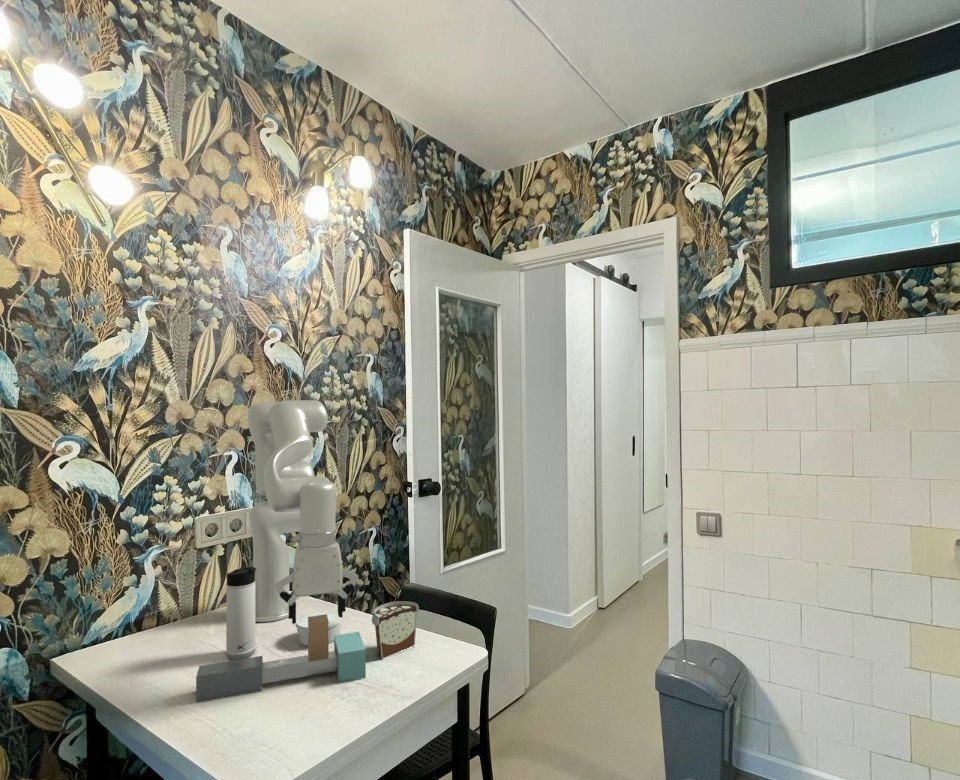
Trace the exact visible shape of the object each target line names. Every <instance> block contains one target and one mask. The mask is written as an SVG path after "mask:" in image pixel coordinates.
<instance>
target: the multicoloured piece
mask: <svg viewBox="0 0 960 780" xmlns="http://www.w3.org/2000/svg"><path fill="white" fill-rule="evenodd" d="M336 671H338V668H337V651H334V650H333V651H329V641H328V617H327V614H325V615H318V616H311V617H308V646H307V654H306V655H303V656H302V655H301V656H295V657H290V658H289V657H288V658H283V659H276V660H271V661H270V660H269V661H263V663H262V685H264V684H268V683H272V682H279V681H280V682H281V681H286V680H290V679H297V678H301V677H308V676H314V675H319V674H325V673H332V672H336Z"/></svg>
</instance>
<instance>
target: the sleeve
mask: <svg viewBox="0 0 960 780" xmlns="http://www.w3.org/2000/svg"><path fill="white" fill-rule="evenodd" d="M263 658H264V657H263V655H260V656H259V655H258V656H253V657H247V658H244V659H239V660H228V661H223V662H222V661H220V662H214V663H209V664H202V665H198V666H199V667H198V670H197V673H196V677H195V680H196V681H195V703H196V702H197V703H202V701H203V702H207V700H208V701H212V699H214V700H218V699H217V698H219V699H223V698H222V697H225V698H230V697H229V696H231V697H235V696H241V695H247V694H253V693H258V692H262V691H263V684H262V663H263V662H264V661H263Z"/></svg>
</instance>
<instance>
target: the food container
mask: <svg viewBox="0 0 960 780" xmlns="http://www.w3.org/2000/svg"><path fill="white" fill-rule="evenodd" d="M419 608H420V607H419V605H418V603H416V602H413V601H404V600H403V601H391V602H387V603H384V604H381V605H379V606H378V607H376V608H375V609H374V610H373V613H372V618H371V623H372V624H373V625H374V626H375V627H374V628H375V638H376V647H377V649H376V650H377V656H378V658H379V657H380V658H381V659H380V658H379V659H380V660H382V659H383V660H385V659H387V658H386V657H388V658H390V657H392V656H391V655H393V654H395V653H397V652H399V651H401V650H404V649H407V648H409V647H411V646H413V645H415V646H416V633H417V631H416V630H417V621H418V620H417V618H418V613H420V609H419ZM395 655H396V654H395ZM389 656H390V657H389ZM393 656H394V655H393ZM384 658H385V659H384Z"/></svg>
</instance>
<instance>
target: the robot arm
mask: <svg viewBox="0 0 960 780" xmlns="http://www.w3.org/2000/svg"><path fill="white" fill-rule="evenodd" d="M328 418H329V416H328V412H327V410H326V407H325V405H324V404H323V403H322V402H321V401H319V400H314V399H313V400H312V399H311V400H309V399H308V400H307V399H306V400H305V399H304V400H302V399H301V400H299V399H298V400H295V399H294V400H293V399H291V400H290V399H289V400H287V399H286V400H281V401H263V402H257V403H254V404H252V405H251V406H250V407H249V408H248V412H247V425H248V426H247V427H248V430H249V433H250V435H251V438H252V440H253V444H254V449H255V456H254V457H255V458H254V459H255V460H254V461H255V464H254V466H255V469H254V470H255V473H254V475H255V477H254V478H255V488H256V492H257V493H258V494H259V495H260V496H264V497H266V499H267V500H266V501H262V502H258V503H256V504H255V505H254V506H253V507H252V508H251V509H250V511H249V512H250V513H249V523H250V529H251V537H252V549H253V550H252V555H253V556H252V559H253V562H252V565H253V566H252V567H255V568H256V571H255V623H268V622H277V621H280V620H283V619H286V618H288V619H289V620H291V622H292V623H291V624H292V625H296V620H297V603H296V601H297V600H298V599H299V598H300V597H301V598H302V597H309V596H318V595H319V596H321V595H327V594H334V593H337V594H338V595H337V612H338V615H339V617H340V618H341V617H342V618H343V613H344V612H346V598H347V597H348V596H349V594H350V593H351V592H352V591H353V590H354V589H355V585H356V584H357V582H358V579H359V575H358V574H357V573H354V572H352V571H350V570H348V569H346V568H343V566H342V565H343V563H342V562H343V561H342V554H341V553H342V552H341V547H340V544H339V542H337V541H336V514H337V513H336V512H337V510H336V507H337V506H336V504H337V502H336V486H335V484H334V483H333V482H332V481H330V479H329V478H327V476H323V475H315V471H314V469H313V466H312V465H311V463H310V462H309V461H306V460H304V459H306V458H307V457H308V456H309V455H310V454H311V452H312V451H313V447H314V444H313V440H312V438H311V434H310V433H320V432H322V431H324V430H325V429H326V427H327V425H328ZM297 532H298V533H297ZM289 533H297V534H295V535H292V538H291V539H292V541H291V542H292V543H297V544H298V545H296V547H295V550H294V557H293V567H292V573H290V549H289V546H288V544H287V542H285V541H284V540H283V539H282V538H281V537H280V536H281V535H286V534H289ZM343 577H345V578H346V579H347V578H348V579H349V581H348V583H347V584H346V585H345V586H344V587H343ZM291 583H292V591H291V592H290V584H291Z"/></svg>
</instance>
